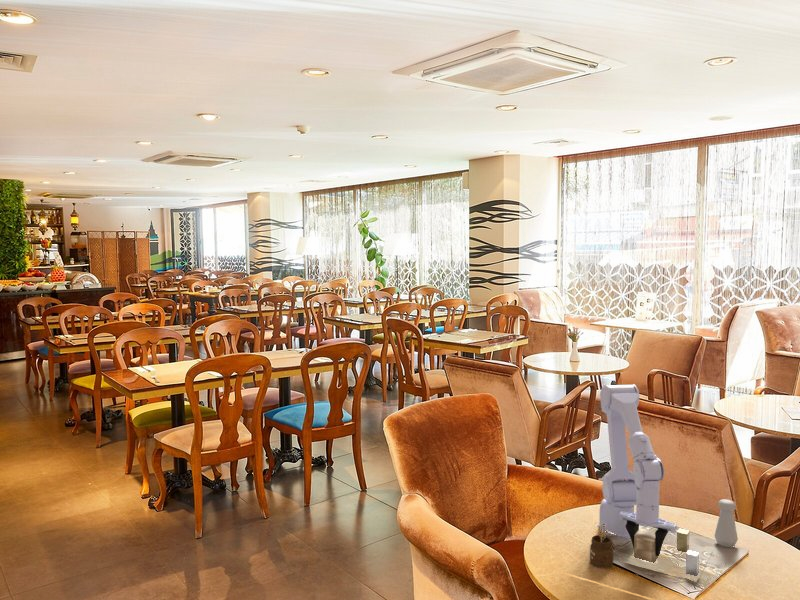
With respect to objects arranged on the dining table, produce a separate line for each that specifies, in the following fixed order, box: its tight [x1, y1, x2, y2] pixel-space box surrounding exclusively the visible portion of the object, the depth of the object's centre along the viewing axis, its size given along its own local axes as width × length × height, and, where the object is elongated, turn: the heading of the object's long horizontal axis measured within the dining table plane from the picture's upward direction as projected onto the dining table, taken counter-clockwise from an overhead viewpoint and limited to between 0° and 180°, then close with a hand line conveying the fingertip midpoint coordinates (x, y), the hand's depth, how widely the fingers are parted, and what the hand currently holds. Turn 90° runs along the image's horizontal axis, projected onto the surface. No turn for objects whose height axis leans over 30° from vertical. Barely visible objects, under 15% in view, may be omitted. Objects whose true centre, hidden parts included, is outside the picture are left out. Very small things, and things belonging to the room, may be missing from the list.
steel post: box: [686, 550, 699, 576], centre depth 166 cm, size 3×3×6 cm
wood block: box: [633, 527, 658, 563], centre depth 175 cm, size 5×5×7 cm
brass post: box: [676, 528, 690, 553], centre depth 179 cm, size 3×3×6 cm
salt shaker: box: [714, 499, 739, 548], centre depth 182 cm, size 6×6×13 cm
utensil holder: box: [589, 522, 614, 569], centre depth 172 cm, size 6×6×12 cm
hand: (646, 551), depth 175 cm, fingers closed on wood block, 5 cm apart
